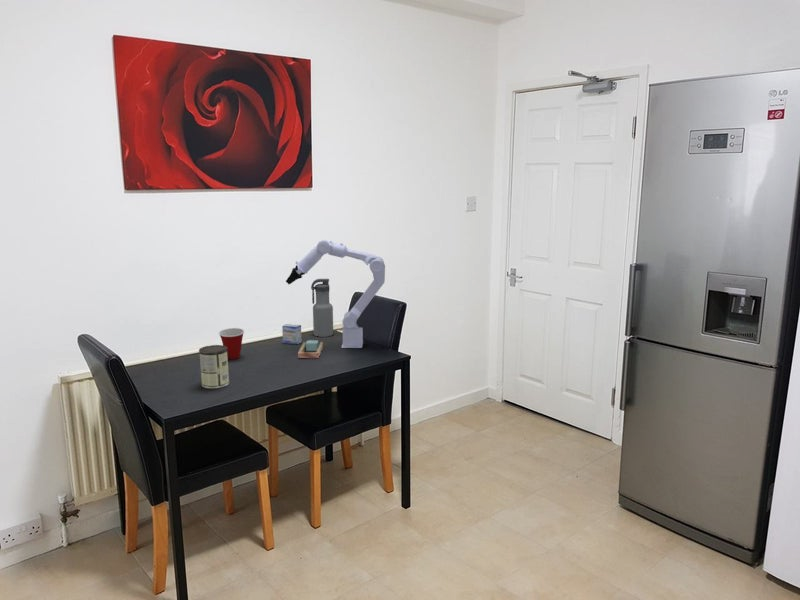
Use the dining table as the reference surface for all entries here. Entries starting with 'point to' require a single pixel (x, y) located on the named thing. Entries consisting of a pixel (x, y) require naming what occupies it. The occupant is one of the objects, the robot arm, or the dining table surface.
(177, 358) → the dining table surface
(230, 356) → the plastic cup
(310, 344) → the block
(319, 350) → the wooden tray
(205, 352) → the coffee can
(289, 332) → the medicine box
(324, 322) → the water bottle
